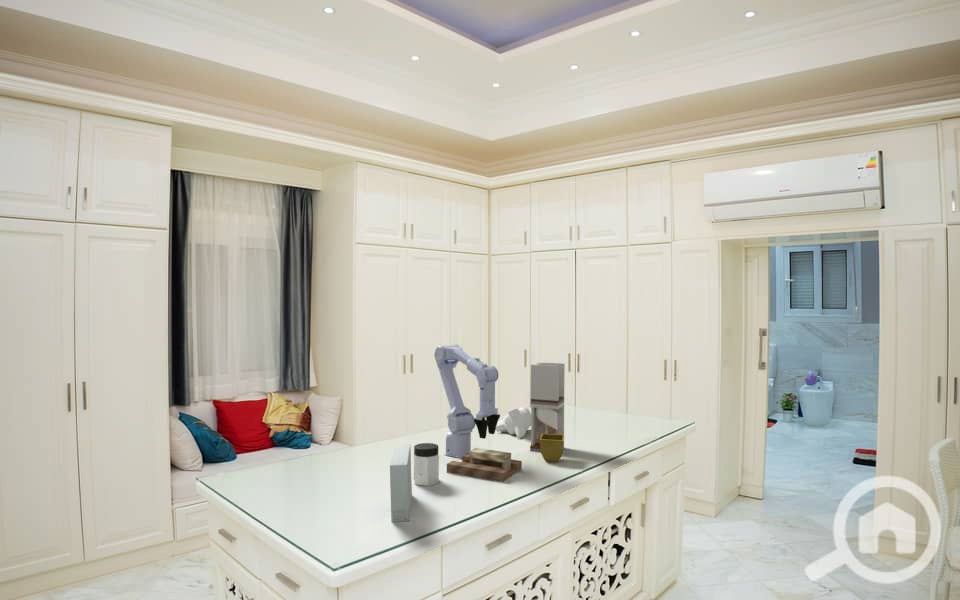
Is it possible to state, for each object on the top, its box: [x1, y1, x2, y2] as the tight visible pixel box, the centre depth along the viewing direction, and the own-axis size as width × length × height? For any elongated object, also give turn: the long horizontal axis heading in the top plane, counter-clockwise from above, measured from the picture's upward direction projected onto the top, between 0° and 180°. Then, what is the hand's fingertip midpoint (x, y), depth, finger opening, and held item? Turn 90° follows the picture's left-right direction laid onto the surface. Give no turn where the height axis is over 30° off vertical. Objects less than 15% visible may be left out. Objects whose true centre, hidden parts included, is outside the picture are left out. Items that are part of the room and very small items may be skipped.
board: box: [446, 453, 523, 483], centre depth 198 cm, size 22×16×3 cm
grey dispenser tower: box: [529, 361, 566, 453], centre depth 227 cm, size 11×11×35 cm
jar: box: [413, 442, 440, 487], centre depth 185 cm, size 9×8×12 cm
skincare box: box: [389, 444, 413, 523], centre depth 162 cm, size 21×5×16 cm, turn 5°
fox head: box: [495, 405, 531, 439], centre depth 254 cm, size 13×17×20 cm
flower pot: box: [540, 434, 565, 463], centre depth 211 cm, size 9×9×9 cm
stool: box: [469, 447, 512, 471], centre depth 197 cm, size 14×5×6 cm, turn 64°
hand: (487, 435), depth 206 cm, fingers open, 7 cm apart
